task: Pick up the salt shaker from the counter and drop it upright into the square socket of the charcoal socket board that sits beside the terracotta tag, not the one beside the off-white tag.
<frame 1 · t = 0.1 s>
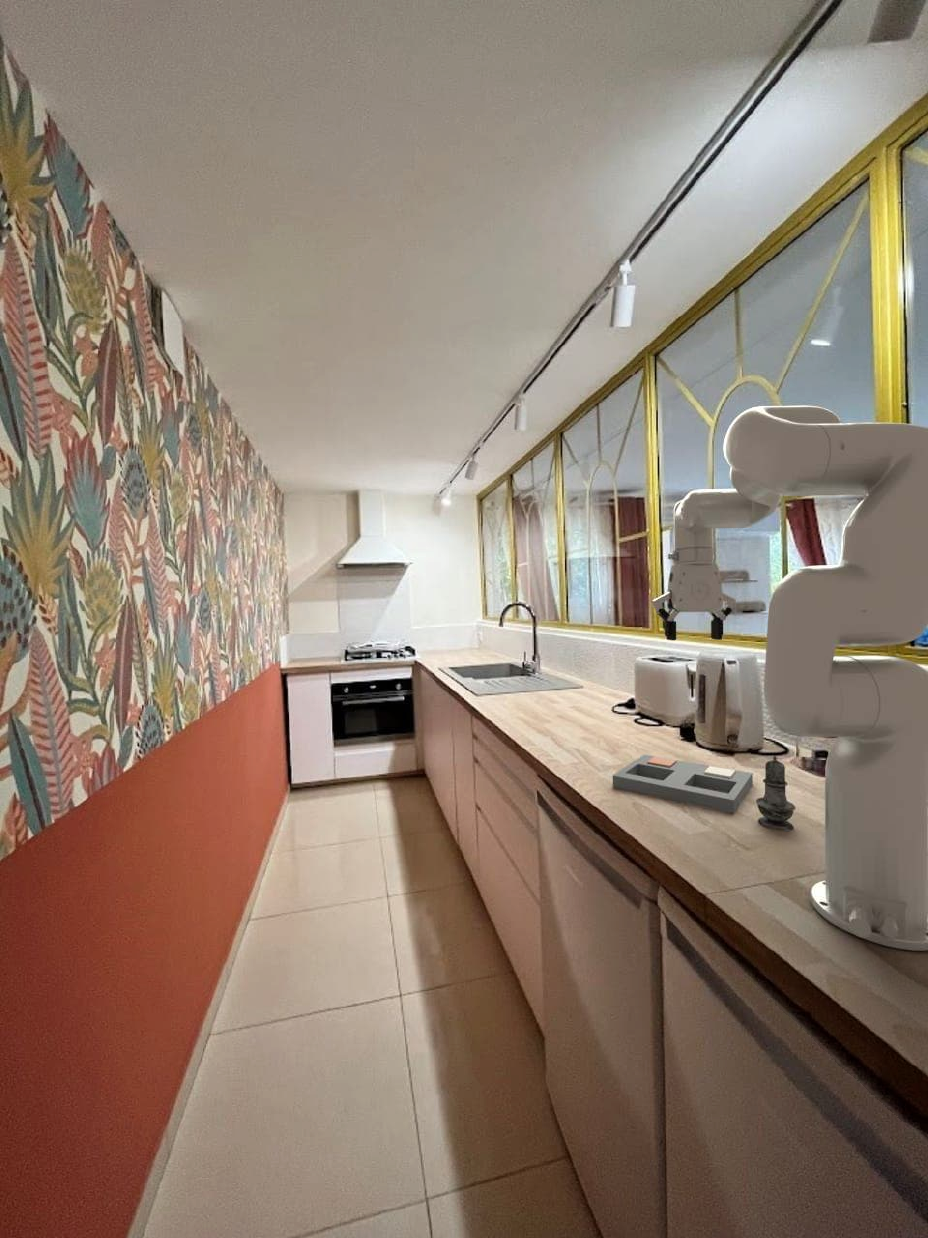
hand: (694, 639, 104), 31 cm above the worktop, tool pointing down, fingers open, 9 cm apart
salt shaker: (775, 825, 86), on the worktop
socket board: (682, 785, 105), on the worktop
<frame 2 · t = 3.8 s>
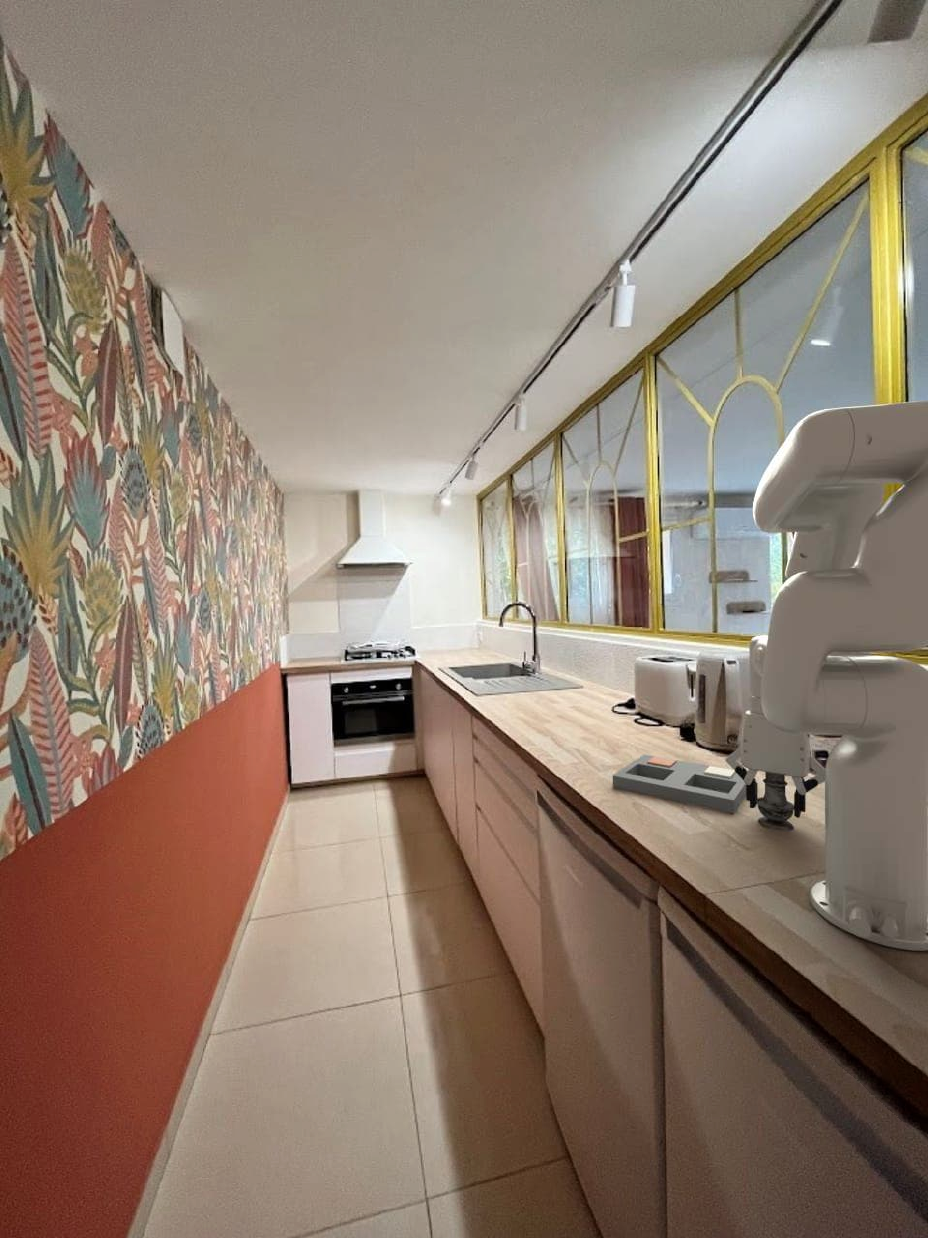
hand: (775, 809, 86), 3 cm above the worktop, tool pointing down, fingers closed on salt shaker, 5 cm apart
salt shaker: (775, 825, 86), on the worktop, touching gripper
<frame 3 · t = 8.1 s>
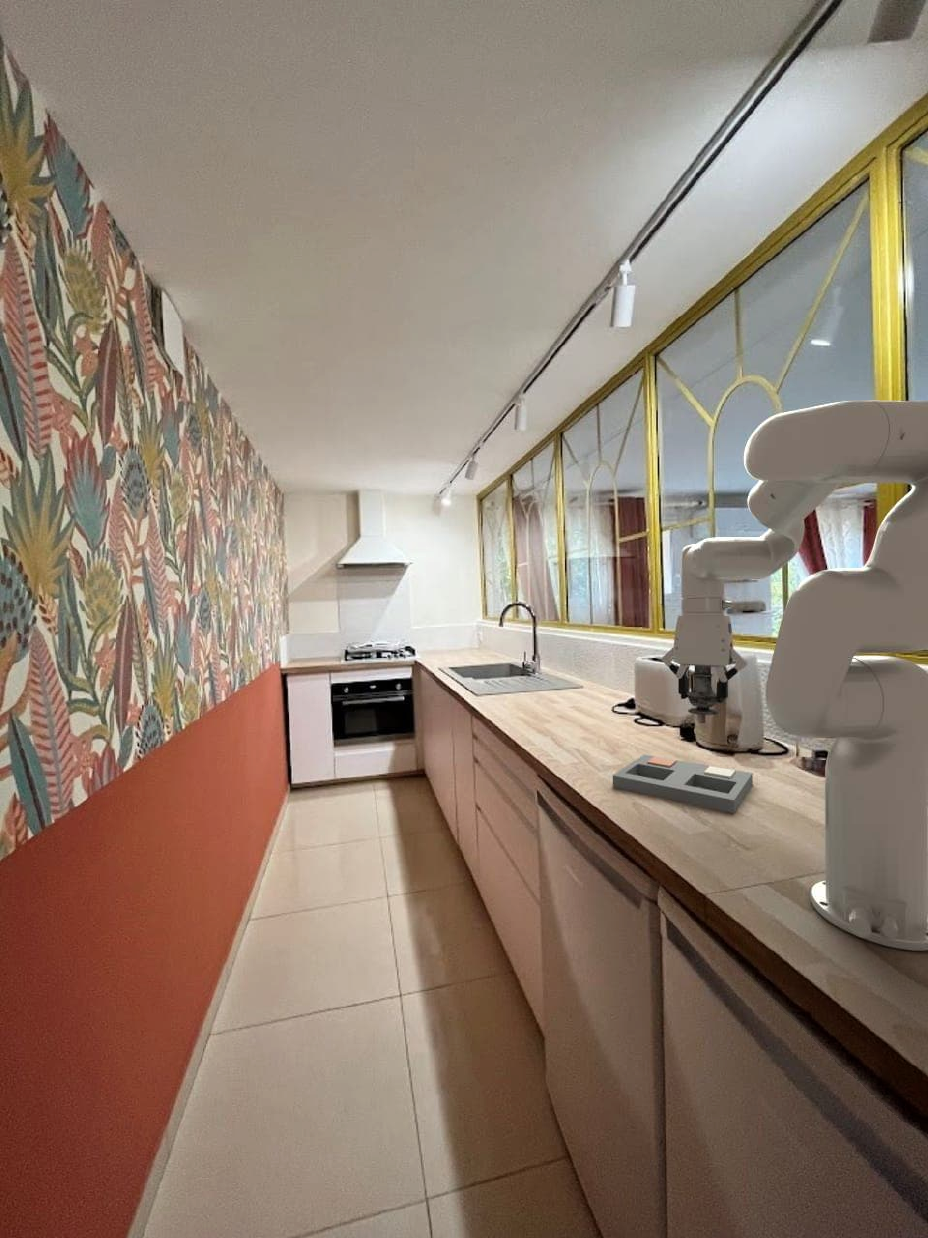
hand: (702, 699, 96), 20 cm above the worktop, tool pointing down, fingers closed on salt shaker, 5 cm apart
salt shaker: (702, 713, 97), point 17 cm above the worktop, touching gripper
when the fingers open (4 cm above the worktop, at t = 12.5 s): salt shaker drops 1 cm, resting in socket board.
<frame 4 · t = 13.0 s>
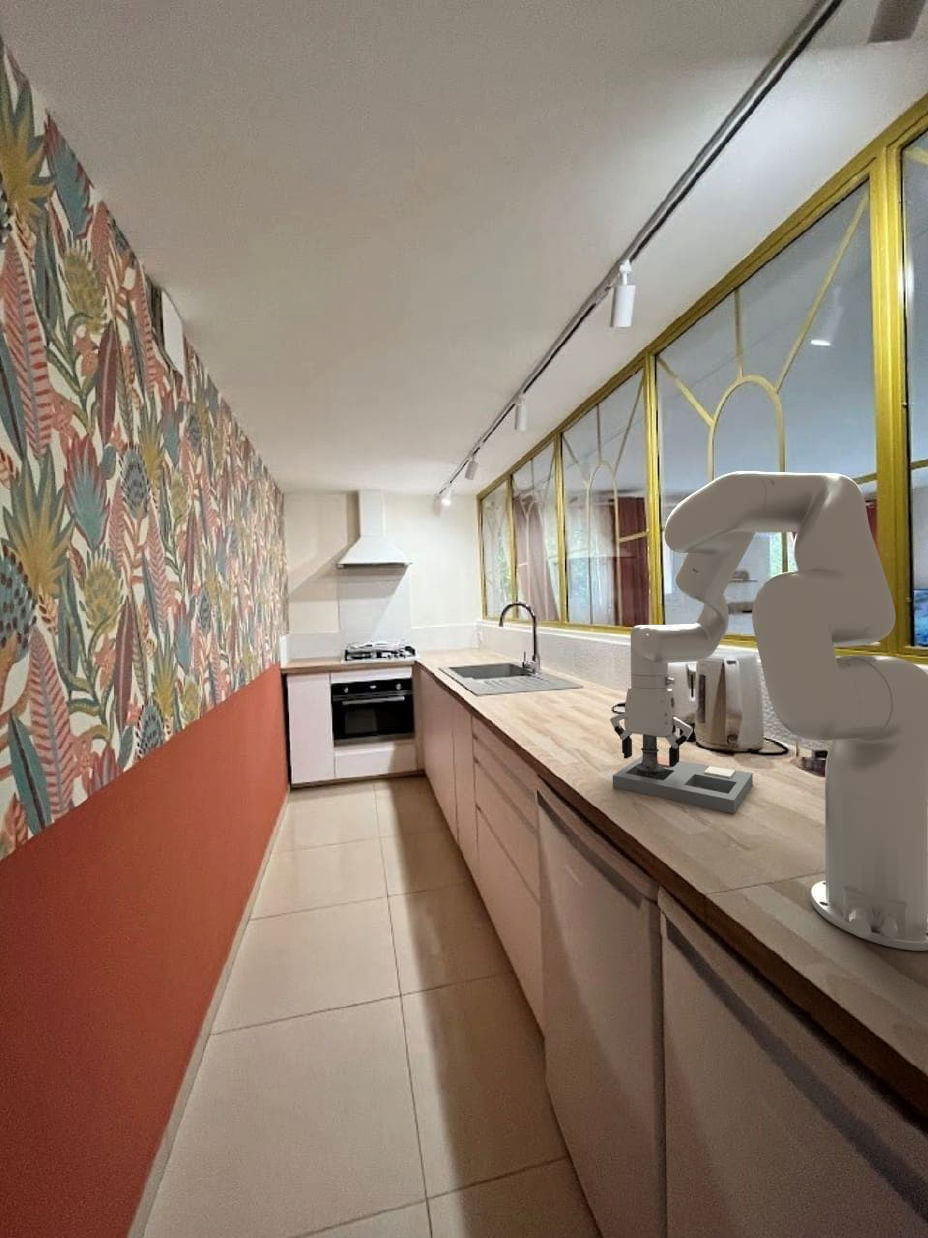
hand: (649, 761, 107), 5 cm above the worktop, tool pointing down, fingers open, 9 cm apart
salt shaker: (650, 784, 107), resting in socket board
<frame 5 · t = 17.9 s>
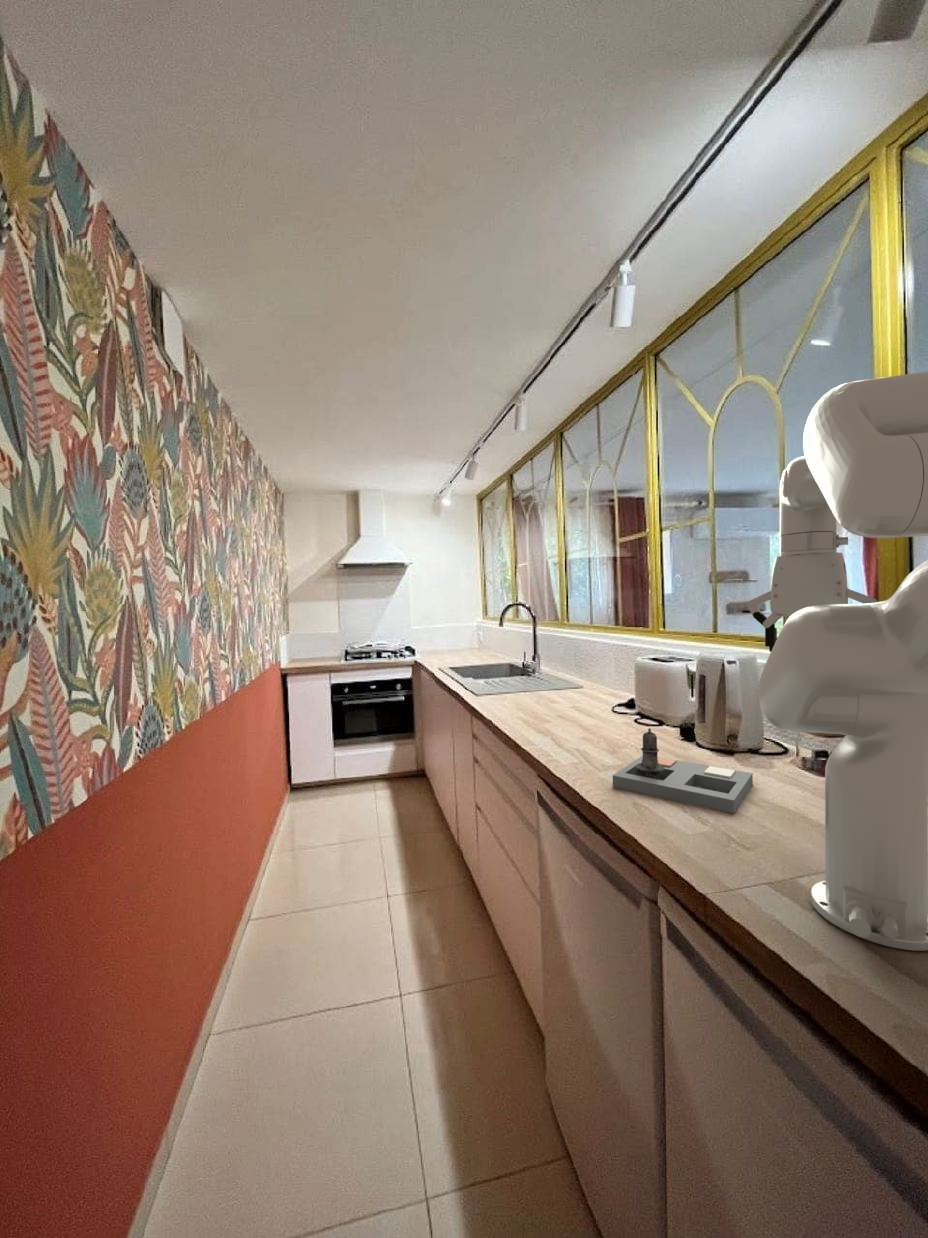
hand: (807, 652, 80), 30 cm above the worktop, tool pointing down, fingers open, 9 cm apart
nothing on the worktop moved.
at the end: salt shaker 0.1 cm from the target spot on the socket board, point 0.0 cm above the socket board's base; salt shaker tilted 0°; the gripper is holding nothing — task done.
